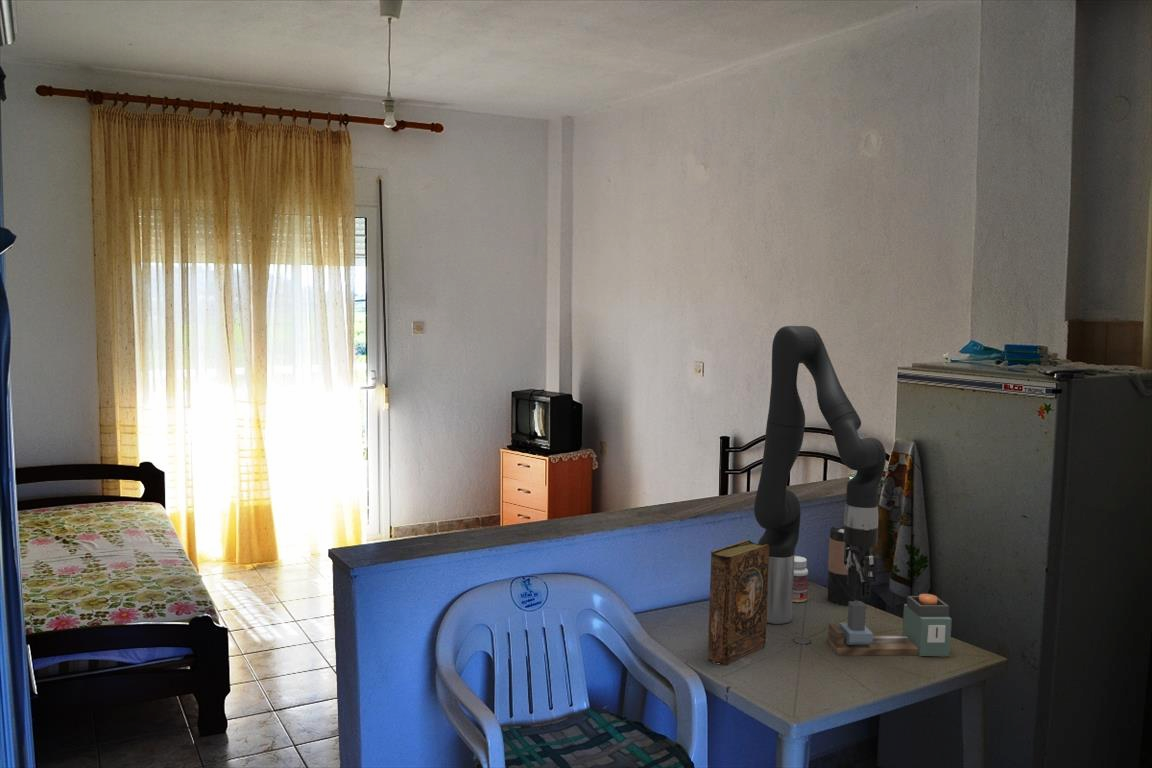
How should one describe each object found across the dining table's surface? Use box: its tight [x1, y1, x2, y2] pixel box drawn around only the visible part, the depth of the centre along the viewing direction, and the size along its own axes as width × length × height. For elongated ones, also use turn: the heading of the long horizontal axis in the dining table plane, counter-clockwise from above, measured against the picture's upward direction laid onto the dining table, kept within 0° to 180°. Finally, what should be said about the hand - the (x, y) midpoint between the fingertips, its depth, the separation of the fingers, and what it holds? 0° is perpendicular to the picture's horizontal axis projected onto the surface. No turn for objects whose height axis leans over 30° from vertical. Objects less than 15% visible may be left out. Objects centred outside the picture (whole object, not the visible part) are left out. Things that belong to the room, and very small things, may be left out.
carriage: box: [838, 600, 874, 645], centre depth 214 cm, size 6×7×9 cm
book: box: [707, 539, 769, 665], centre depth 210 cm, size 16×6×25 cm, turn 134°
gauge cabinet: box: [901, 595, 953, 658], centre depth 215 cm, size 7×10×12 cm, turn 3°
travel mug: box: [827, 525, 857, 606], centre depth 246 cm, size 8×8×20 cm
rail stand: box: [826, 623, 919, 657], centre depth 215 cm, size 19×8×5 cm, turn 93°
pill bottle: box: [793, 555, 809, 603], centre depth 248 cm, size 6×6×11 cm
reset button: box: [918, 593, 938, 605], centre depth 214 cm, size 4×4×2 cm
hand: (858, 591), depth 213 cm, fingers open, 8 cm apart
